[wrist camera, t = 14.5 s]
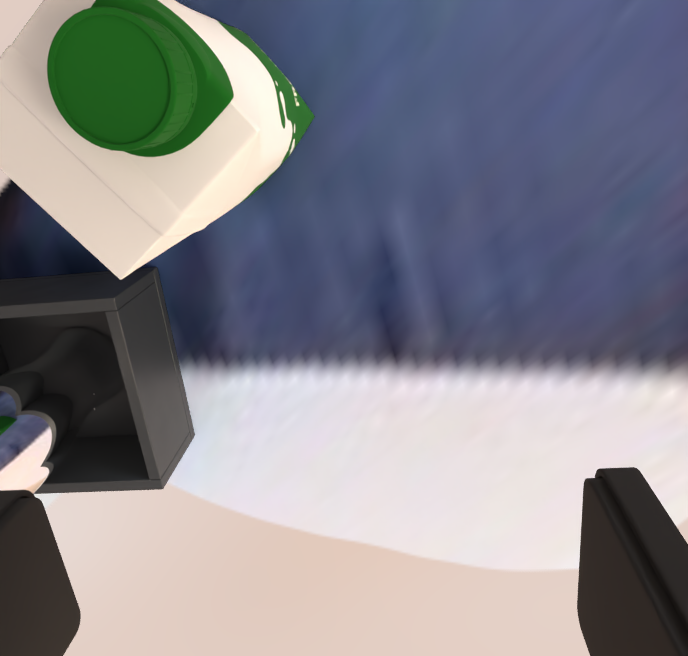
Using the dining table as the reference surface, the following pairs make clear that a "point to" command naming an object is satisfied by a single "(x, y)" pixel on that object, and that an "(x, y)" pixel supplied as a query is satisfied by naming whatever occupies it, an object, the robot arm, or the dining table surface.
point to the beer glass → (52, 403)
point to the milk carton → (140, 122)
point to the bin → (136, 368)
